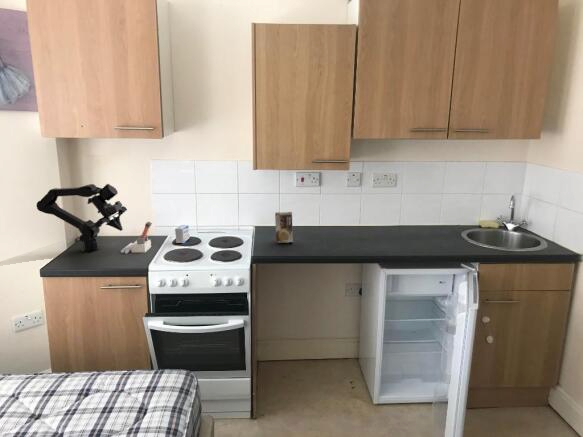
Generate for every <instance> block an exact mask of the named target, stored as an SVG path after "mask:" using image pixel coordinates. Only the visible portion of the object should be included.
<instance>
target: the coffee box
mask: <svg viewBox="0 0 583 437" xmlns="http://www.w3.org/2000/svg"><path fill="white" fill-rule="evenodd" d="M274 214H275V215H274V220H275V221H274V224H275V242H276V241H277V242H293V243H294V234H293V233H294V232H293V230H294V229H293V212H292V211H283V212H281V211H279V212H275V213H274Z"/></svg>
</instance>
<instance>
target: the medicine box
mask: <svg viewBox="0 0 583 437" xmlns="http://www.w3.org/2000/svg"><path fill="white" fill-rule="evenodd" d="M189 227H190V226H189V225H188V224H187V225H186V224H183V225H182V224H181V225H180V226H178V227H176V228H175V229H174V232H175V234H174V235H175V240H176V243H185V242H186V241H187V240H188V239H189V238H190V228H189ZM186 243H187V242H186ZM186 243H185V244H186Z"/></svg>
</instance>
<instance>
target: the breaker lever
mask: <svg viewBox="0 0 583 437" xmlns="http://www.w3.org/2000/svg"><path fill="white" fill-rule="evenodd" d="M152 224H153V222H150V221H147V222H145V225H144V229H143V231H142V233H141V235H142V236H141V238H144V239H145V238H146V235H148V232H149V229H150V228H151V226H152Z"/></svg>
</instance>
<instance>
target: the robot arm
mask: <svg viewBox="0 0 583 437" xmlns="http://www.w3.org/2000/svg"><path fill="white" fill-rule="evenodd" d="M118 194H119V193H118V190H117V189H116V187H114V186H113V185H111V184H110V183H107V184H105V185H104V186H103V187H102V188H101V187H98V186H96V185H95V184H93V183H90V184H86V185H82V186H77V187H63V188H62V187H60V188H59V187H58V188H57V187H55V188H52V189H49V190H48V192H47V193H46V194H45V195H44V196H43V197H42V198H41V199H40V200H38V201H37V202H36V210H38V211H39V212H41V213H44V214H48V215H53V216H55V217H57V218H58V219H60V220H61V221H63V222H66V223H67V224H69V225H71V226H73V227H74V228H76V229H78V231H79V232H80V234H81V235H80V236H79V237H78V239H79V241H80V242H81V243H82V247H83V248H82V249H81V250H80V251H81V252H84V253H93V252H95V251H98V250H100V247H98V242H97V239H96V238H97V237H98V234H99V233H100V231H101V230H100V228H101V227H102V225H104V224H105V223H106V224H105V226H109V227H112V228H114V229H116V230H118V231H121V232H122V231H123V230H124V228H123V226H122V222H121V218H120V217H121V215H123V214H124V213H126V211H128V209H127V207H126V206H123V204H122V202H121V201H120V200H117V201H115V202H114V204H112V203H111V202H107V201H110V200H112V199H113V198H115V196H117V195H118ZM70 196H71V197H72V196H79V197H83V198H87V205H89V204H92V205H94V207H95V208H96V209H97V213H98V214H100V215H102V217H101V218H99V219H98V220H97V221H95V222H94V221H92V220H91V219H88V220H87V221H86V220H82V219H81V218H79V217H77V216H76V215H74V214H72V213H70V212H69V211H66V210H65V209H63V208H62V207H60V206H59V205H58V203H57V202H56V201H57V200H58V197H70Z"/></svg>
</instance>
